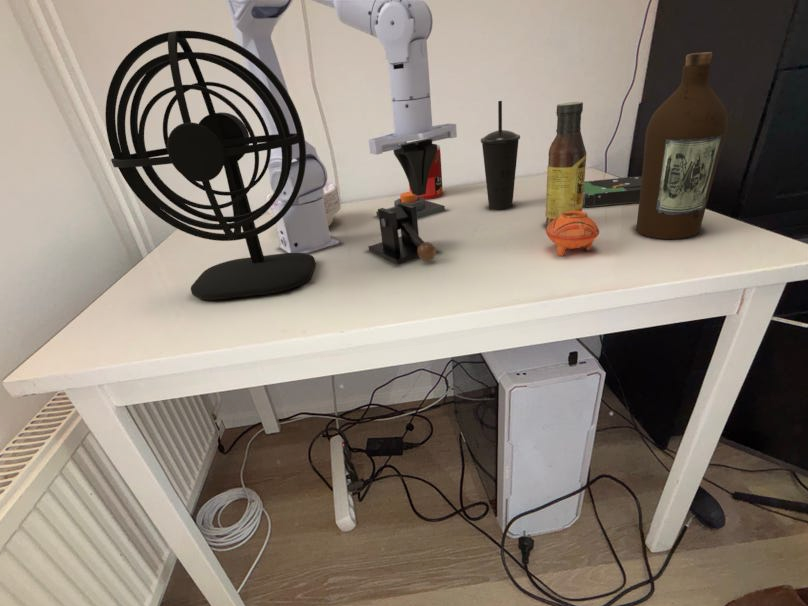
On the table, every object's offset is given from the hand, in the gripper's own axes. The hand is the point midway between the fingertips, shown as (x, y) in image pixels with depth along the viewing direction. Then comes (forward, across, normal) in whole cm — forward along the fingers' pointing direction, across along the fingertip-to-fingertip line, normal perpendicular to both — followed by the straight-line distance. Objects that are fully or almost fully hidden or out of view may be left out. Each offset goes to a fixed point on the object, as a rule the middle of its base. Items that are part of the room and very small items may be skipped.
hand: (418, 193), depth 78 cm
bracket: (+10, -2, +4) cm, 11 cm away
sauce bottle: (+10, +26, -6) cm, 29 cm away
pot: (+10, +17, -16) cm, 26 cm away
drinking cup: (+10, +27, +12) cm, 31 cm away
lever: (+8, -2, +1) cm, 8 cm away
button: (+8, +12, +24) cm, 28 cm away
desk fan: (+11, -27, +11) cm, 31 cm away
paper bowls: (+11, -8, +33) cm, 36 cm away
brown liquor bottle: (+10, +34, -21) cm, 42 cm away
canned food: (+11, +23, +34) cm, 42 cm away
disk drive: (+10, +45, -2) cm, 46 cm away
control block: (+10, +12, +24) cm, 28 cm away
